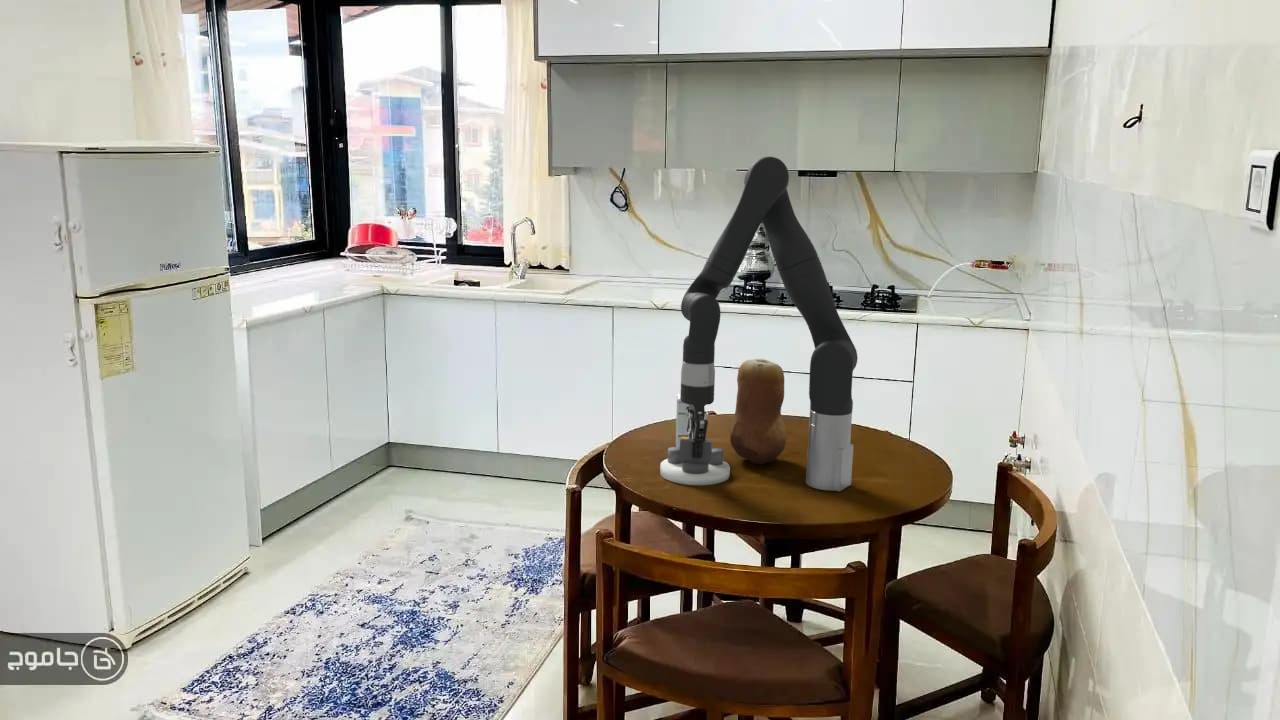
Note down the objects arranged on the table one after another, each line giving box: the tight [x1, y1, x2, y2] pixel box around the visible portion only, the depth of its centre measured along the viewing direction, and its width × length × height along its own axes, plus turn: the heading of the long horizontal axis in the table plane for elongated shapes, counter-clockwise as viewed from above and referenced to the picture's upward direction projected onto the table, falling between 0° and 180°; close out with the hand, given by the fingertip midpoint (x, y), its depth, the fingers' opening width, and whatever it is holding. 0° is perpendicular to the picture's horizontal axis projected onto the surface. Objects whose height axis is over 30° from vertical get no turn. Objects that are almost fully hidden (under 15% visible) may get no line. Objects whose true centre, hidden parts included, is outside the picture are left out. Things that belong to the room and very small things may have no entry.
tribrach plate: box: [659, 446, 731, 486], centre depth 219 cm, size 16×16×5 cm
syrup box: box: [675, 393, 689, 447], centre depth 234 cm, size 6×6×14 cm
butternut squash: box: [729, 358, 787, 465], centre depth 227 cm, size 14×13×25 cm
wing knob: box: [680, 437, 713, 474], centre depth 214 cm, size 7×6×7 cm
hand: (695, 455), depth 214 cm, fingers closed on wing knob, 3 cm apart
